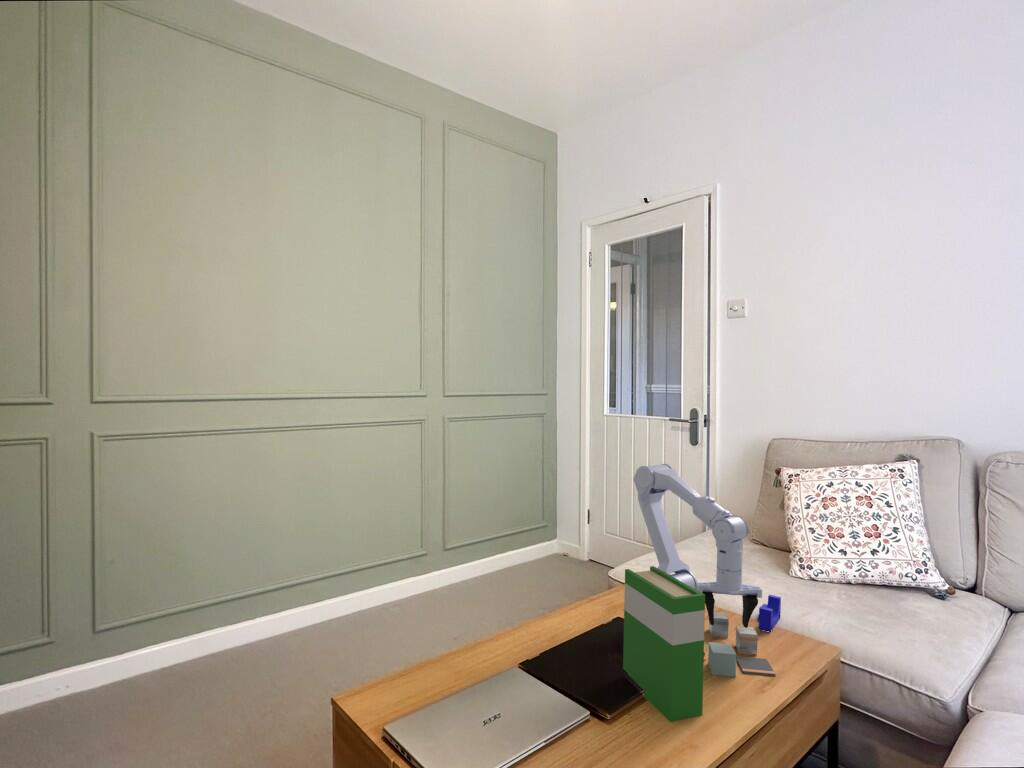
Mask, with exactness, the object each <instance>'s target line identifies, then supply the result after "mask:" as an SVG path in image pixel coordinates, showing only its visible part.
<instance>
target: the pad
mask: <svg viewBox="0 0 1024 768" xmlns="http://www.w3.org/2000/svg"><path fill="white" fill-rule="evenodd" d="M736 659H737V660H736V663H737V664H738V666H739V668H740V670H741V672H742V673H743V674H751V675H763V676H770V677H771V676H772V677H776V672H775V671H774V669H773V667H772V665H771V663H770V662H769V660H768V659H767V658H761V657H760V658H759V657H748V656H746V657H745V656H738V655H736Z"/></svg>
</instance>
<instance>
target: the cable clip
mask: <svg viewBox="0 0 1024 768" xmlns="http://www.w3.org/2000/svg"><path fill="white" fill-rule="evenodd" d="M781 604H782V597H781V596H777V595H774V594H773V595H772V594H768V596H767V603H763V604H762V605H760V606H759V608H758V616H757V621H758V630H759V629H761V630H760V631H762V630H765V631H769V632H771V630H772V629H773V628H774V629H775V627H776V626H777V624H778V622H779V620H780V619H781V610H782V608H781V607H782V605H781ZM774 629H773V630H774ZM773 630H772V631H773ZM765 631H764V632H765ZM769 632H768V633H769ZM771 633H772V632H771Z"/></svg>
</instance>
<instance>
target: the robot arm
mask: <svg viewBox="0 0 1024 768" xmlns="http://www.w3.org/2000/svg"><path fill="white" fill-rule="evenodd" d="M632 479H633V482H634V485H635V489H636V491H637V500H638V505H639V507H640V510H641V513H642V516H643V518H644V522H645V526H646V528H647V532H648V534H649V538H650V540H651V543H652V546H653V549H654V552H655V554H656V555H655V556H656V559H657V561H658V566H657V568H658V569H660V570H661V571H663V572H665V573H667V574H669V575H670V576H672V577H674V578H676V579H678V580H679V581H681V582H683V583H685V584H687V585H688V586H690V587H692V588H694V589H696V590H697V591H699V592H701V593H703V594H705V609H706V611H707V616H708V624H709V623H710V625H714V612H715V603H716V599H715V598H714V594H718V595H728V596H742V615H741V619H742V621H741V622H742V627H745V628H748V627H749V624H750V623H749V622H750V619H751V617H752V615H753V613H754V610H755V609H756V607H758V605H759V604H758V603H759V599H758V598H760V599H761V598H763V589H762V587H761V586H755V585H748V584H743V563H744V561H743V559H744V557H743V556H744V540H745V539H746V538H747V537H748V535H749V525H748V522H746V520H745V519H744V518H743V517H742V516H741V515H740V514H739V515H738V514H732V513H731V512H730V511H729V510H726V509H724V507H722V506H721V505H719V504H718V503H717V502H716V499H715V498H714V497H713V496H710V497H709V495H708V496H707V495H706V496H701V495H700V494H699V493H698V492H697V491H696V490H695V489H694V488H693V487H691V486H690V484H688V482H686V481H685V480H684V479H683V478H682V477H681V476H680V475H679V472H678V470H677V469H675V468H673V467H672V466H671V465H670V464H669V463H661V464H655V465H641V466H639V467H638V468H637V469H636V472H635V474H634V476H633V478H632ZM667 491H670V492H672V493H673V494H674V495H675V496H677V497H678V498H679V499H681V500H682V501H683V502H685V503H687V504H688V505H689V506H691V507H692V513H693V515H694V516H695V517H696V518H698V519H699V520H700V521H701V522H702V523H704V524H705V525H706V526H707V527H708V528H710V530H711V532H712V535H713V538H714V539H715V546H716V576H715V577H716V579H715V580H716V581H711V582H698V581H697V578H696V577H695V575H694V574H693V573H692V571H691V569H690V566H689V564H688V563H686V562H684V561H683V560H682V559H680V556H679V553H678V551H677V547H676V544H675V542H674V539H673V536H672V533H671V530H670V527H669V524H668V522H667V518H666V516H665V512H664V509H663V507H662V504H661V500H662V498H663V496H664V495H665V494H666V492H667ZM672 573H673V574H672Z"/></svg>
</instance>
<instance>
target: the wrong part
mask: <svg viewBox="0 0 1024 768" xmlns="http://www.w3.org/2000/svg"><path fill="white" fill-rule="evenodd" d="M729 624H730V623H729V617H728V616H727V613H726V612H723V611H722V612H721V611H714V625H710V623H709V622H708V630H709V631H708V632H709V633H710V636H711V637H712V638H719V637H723V638H722V639H729Z"/></svg>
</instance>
